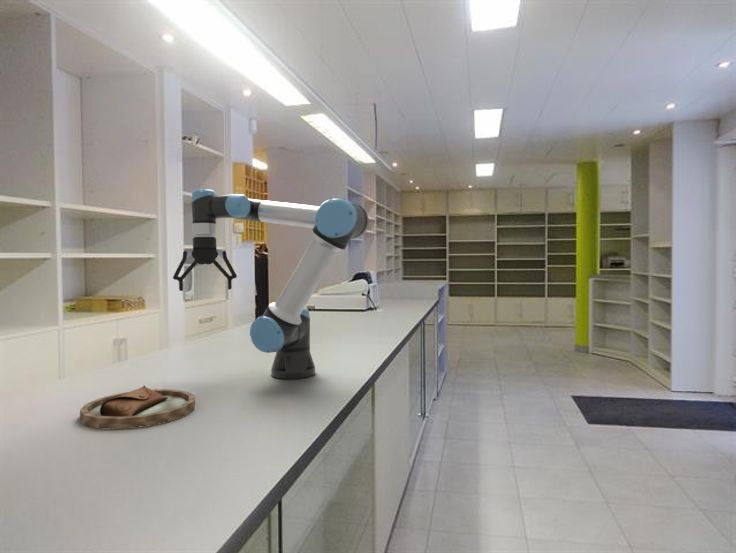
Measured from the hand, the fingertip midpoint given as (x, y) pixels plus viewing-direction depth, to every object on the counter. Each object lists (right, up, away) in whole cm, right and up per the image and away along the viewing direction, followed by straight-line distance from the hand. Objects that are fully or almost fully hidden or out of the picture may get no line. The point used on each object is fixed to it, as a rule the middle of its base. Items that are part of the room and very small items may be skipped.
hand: (206, 300), depth 170 cm
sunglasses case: (-6, -27, -37) cm, 46 cm away
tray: (-5, -28, -37) cm, 46 cm away
